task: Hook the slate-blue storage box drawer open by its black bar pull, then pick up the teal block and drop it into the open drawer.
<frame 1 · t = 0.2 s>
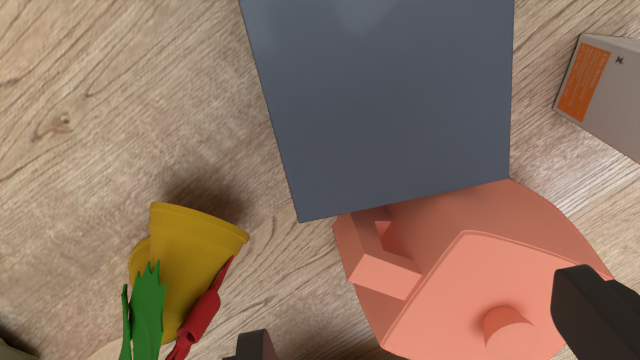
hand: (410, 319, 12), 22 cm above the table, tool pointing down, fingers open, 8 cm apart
storage box: (359, 45, 30), on the table
cosmetic box: (586, 75, 32), on the table
teapot: (440, 213, 38), on the table
ornament: (179, 268, 38), on the table
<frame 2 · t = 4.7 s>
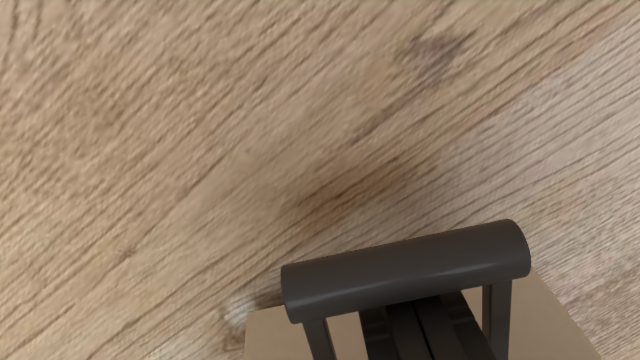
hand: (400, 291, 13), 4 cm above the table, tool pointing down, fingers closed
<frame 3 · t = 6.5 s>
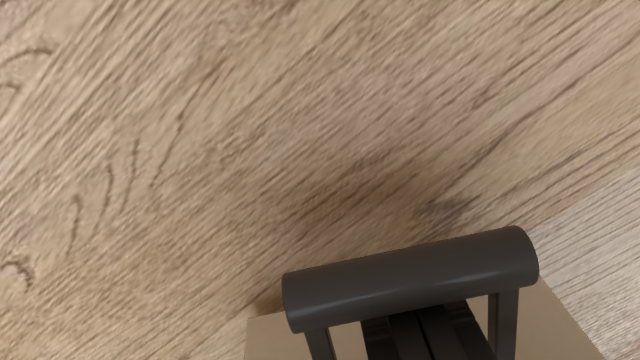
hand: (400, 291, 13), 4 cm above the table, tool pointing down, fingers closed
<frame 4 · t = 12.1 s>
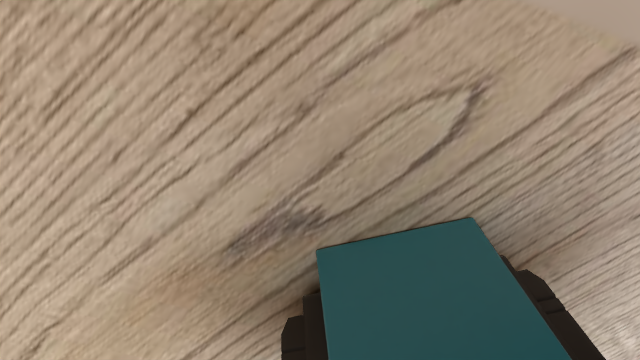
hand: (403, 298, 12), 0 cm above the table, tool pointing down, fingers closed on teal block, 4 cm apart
teal block: (401, 289, 13), on the table, touching gripper
when the fingers open (8 cm above the table, at t = 18.6 s): teal block drops 6 cm, resting on drawer.
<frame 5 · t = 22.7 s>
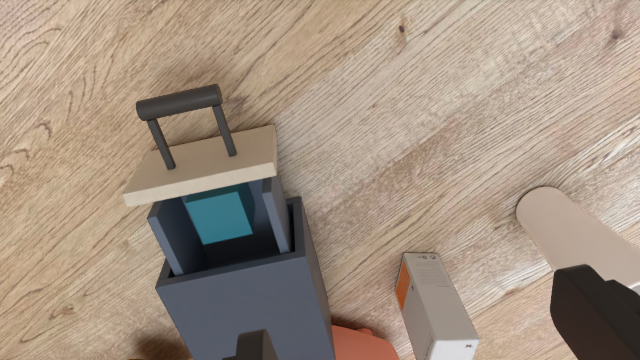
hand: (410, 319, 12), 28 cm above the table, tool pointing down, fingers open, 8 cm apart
drinking glass: (536, 204, 46), on the table
teal block: (225, 190, 39), point 2 cm above the table, touching drawer
storage box: (258, 263, 46), on the table
cosmetic box: (414, 271, 49), on the table
teapot: (329, 347, 54), on the table
drawer: (219, 195, 36), point 5 cm above the table, slide at 7.3 cm, touching teal block
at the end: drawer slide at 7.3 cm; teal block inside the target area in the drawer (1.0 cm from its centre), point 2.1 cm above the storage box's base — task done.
